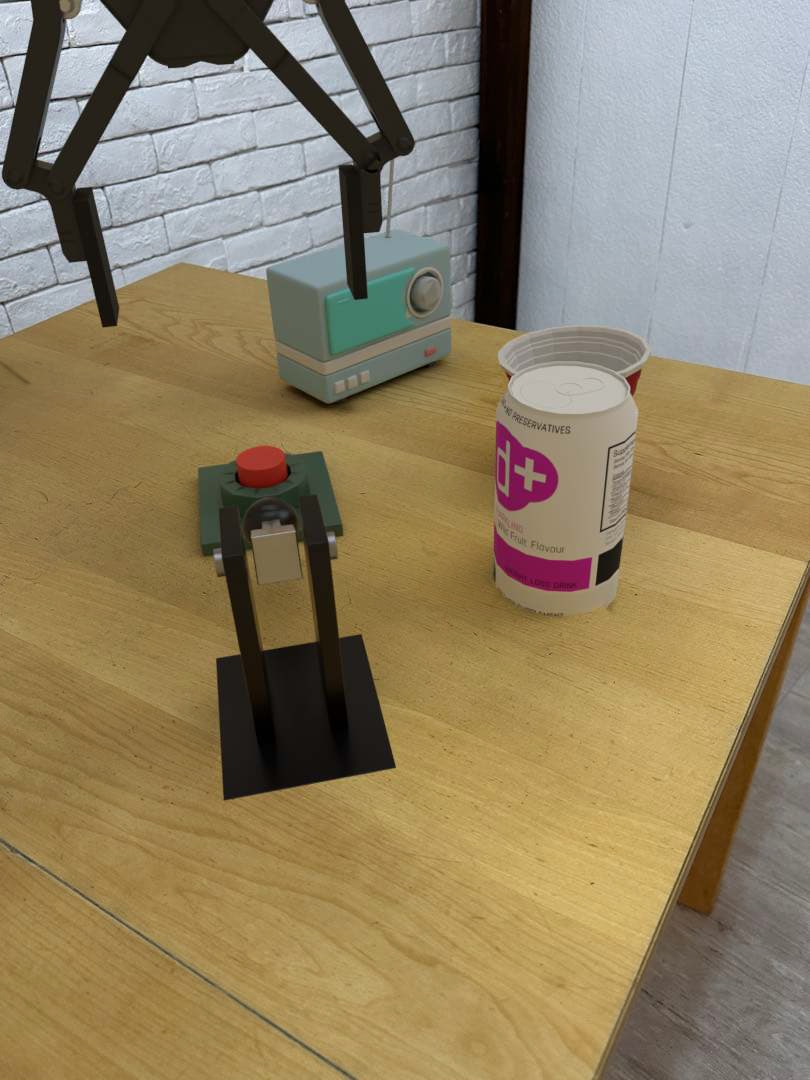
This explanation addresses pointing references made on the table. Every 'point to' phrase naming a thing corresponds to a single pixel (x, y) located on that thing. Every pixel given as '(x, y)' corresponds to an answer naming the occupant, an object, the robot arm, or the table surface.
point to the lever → (273, 540)
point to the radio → (361, 313)
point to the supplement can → (562, 486)
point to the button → (261, 467)
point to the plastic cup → (579, 350)
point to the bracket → (294, 681)
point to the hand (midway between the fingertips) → (236, 305)
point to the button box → (264, 495)
